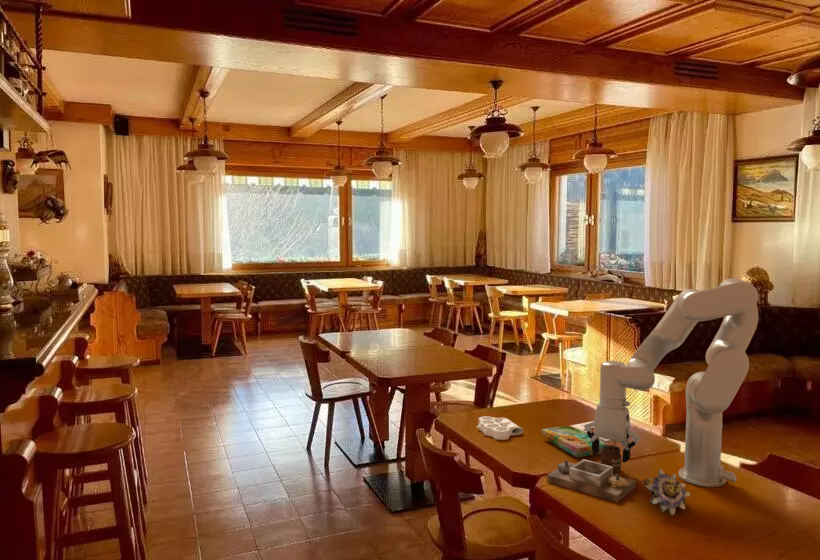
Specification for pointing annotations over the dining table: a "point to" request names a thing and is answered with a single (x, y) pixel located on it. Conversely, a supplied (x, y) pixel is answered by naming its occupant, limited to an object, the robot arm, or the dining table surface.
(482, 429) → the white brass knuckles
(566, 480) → the gear board
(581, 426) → the photo frame
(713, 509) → the dining table surface
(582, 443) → the puzzle game
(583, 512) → the dining table surface
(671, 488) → the passion flower
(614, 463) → the utensil holder
